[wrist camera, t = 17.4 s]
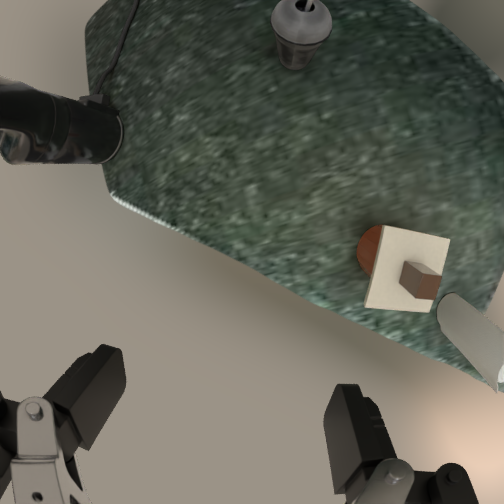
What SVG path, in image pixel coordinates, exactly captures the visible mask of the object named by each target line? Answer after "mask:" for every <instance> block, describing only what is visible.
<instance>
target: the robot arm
mask: <svg viewBox="0 0 504 504" xmlns="http://www.w3.org/2000/svg"><path fill="white" fill-rule="evenodd" d="M138 2H139V0H134V3H133V6H132V9H131V12H130V14H129V16H128V19H127V21H126V23H125V26H124V28H123V31H122V34H121V36H120V40H119V43H118V46H117V49H116V52H115V55H114V58H113V60H112V62H111V64H110V66H109V68H108V69H107V70H106V71H105V72H104V73H103V74H102V75H101V77H100V79H99V81H98V83H97V86H96V88H95V91H94V93H93V95H89V96H82V97H80V99H79V100H78V101H76V100H73V99H69V98H66V97H63V96H59V95H55V94H52V93H48V92H45V91H41V90H38V89H35V88H34V87H31V86H29V85H27V84H25V83H23V82H20V81H16V80H13V79H9V78H6V77H3V76H0V153H1V155H2V157H3V159H4V160H5V161H6V162H7V163H9V164H12V165H30V164H62V163H63V164H69V163H70V164H72V163H73V164H74V163H75V164H76V163H78V164H103V163H105V162H107V161H109V160H110V159H112V158H113V157H114V156H115V155H116V153H117V152H118V150H119V149H120V146H121V144H122V141H123V136H124V128H123V123H122V121H121V119H120V117H119V110H117V109H114V108H111V107H109V101H110V96H108V95H105V94H99V92H100V89H101V87H102V84H103V82H104V80H105V78H106V76H107V75H108V74H109V73H110V72H111V71H112V70H113V69H114V67H115V65H116V62H117V60H118V58H119V55H120V52H121V49H122V46H123V42H124V39H125V36H126V33H127V31H128V28H129V25H130V23H131V21H132V18H133V16H134V14H135V11H136V9H137V6H138ZM125 387H126V375H125V368H124V362H123V355H122V351H121V350H120V349H119V348H115V347H112V346H109V345H105V344H101V345H100V346H99V347H98V348H97V349H96V350H95V351H94V352H93V354H92V353H87V354H85V355H83V356H81V357H79V358H78V359H77V360H76V361H75V362H74V363H73V364H72V365H71V367H69V369H68V370H66V372H65V374H63V375H62V376H61V377H60V378H59V379H58V380H57V382H56V383H55V384H54V385H53V386H52V387H51V388H50V390H49V391H48V392H47V393H46V394H45V395H44V396H43V397H42V398H41V397H30V398H27V399H25V400H23V401H22V402H21V403H20V402H15V401H11V400H8V399H5V398H4V397H3V396H2V393H1V391H0V499H1V497H2V495H3V494H4V492H5V490H6V488H7V486H8V484H9V483H10V481H11V479H12V486H13V493H14V500H15V504H92V503H91V502H90V499H89V497H88V495H87V492H86V489H85V486H84V482H83V479H82V475H81V472H80V468H79V464H78V460H77V456H76V453H75V451H76V450H77V448H78V446H79V447H81V448H83V449H85V450H88V451H89V450H90V448H91V446H92V444H93V443H94V441H95V439H96V437H97V436H98V434H99V432H100V431H101V429H102V428H103V426H104V424H105V422H106V421H107V419H108V417H109V416H110V414H111V412H112V411H113V409H114V408H115V406H116V404H117V403H118V401H119V399H120V398H121V396H122V394H123V393H124V390H125ZM381 417H382V416H381V414H380V411H379V408H378V406H377V405H376V404H375V403H374V402H373V401H372V400H371V399H370V398H369V397H363V395H362V392H361V390H360V387H359V385H358V384H337V385H336V387H335V390H334V392H333V394H332V397H331V399H330V402H329V404H328V406H327V409H326V411H325V415H324V431H325V436H326V442H327V448H328V454H329V460H330V467H331V473H332V480H333V486H334V493H335V494H345V495H346V501H345V502H344V503H343V504H479V503H478V500H477V497H476V494H475V492H474V489H473V486H472V484H471V481H470V479H469V476H468V474H467V472H466V470H465V469H464V468H463V467H462V466H460V465H458V464H456V463H447V464H444V465H442V466H441V467H440V468H439V469H438V470H437V471H436V472H425V471H414V470H413V469H412V467H411V466H410V465H409V464H408V463H407V462H405V461H403V460H401V459H398V458H397V456H396V453H395V450H394V448H393V445H392V442H391V440H390V437H389V434H388V432H387V429H386V427H385V424H384V421H383V419H382V418H381Z"/></svg>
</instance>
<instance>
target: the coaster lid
mask: <svg viewBox="0 0 504 504" xmlns="http://www.w3.org/2000/svg"><path fill="white" fill-rule="evenodd" d="M449 243H450V239H448V238H445V237H440V236H436V235H431V234H427V233H422V232H418V231H413V230H408V229H403V228H398V227H393V226H388V225H383V226H382V231H381V235H380V240H379V245H378V249H377V254H376V258H375V262H374V267H373V271H372V275H371V278H370V282H369V286H368V290H367V293H366V297H365V301H364V304H363V305H364V307H366V308H377V309H389V310H401V311H414V312H429V311H430V308H431V305H432V303H433V300H435V298H436V295H437V292H438V289H439V285H440V282H441V279H442V276H441V274H442V270H443V266H444V263H445V259H446V255H447V251H448V247H449Z"/></svg>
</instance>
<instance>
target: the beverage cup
mask: <svg viewBox="0 0 504 504" xmlns="http://www.w3.org/2000/svg"><path fill="white" fill-rule="evenodd" d="M270 24H271V27H272V30H273V31H274V33H275V36H276V42H277V49H278V55H279V59H280V62H281V63H282V65H283V66H285V67H286V68H288V69H291V70H300V69H302V68H304V67H305V66H306V65H307V64H308V63H309V62H310V60H311V58H312V57H313V55H314V54H315V52H316V51H317V49H318V47H319V46H320V44H321V43H323V42H324V41H325V40H326V39H327V38H329V36H330V34H331V32H332V18H331V15H330V13H329V11H328V9H327V8H326V7H325V5H324V4H323V3H322V2H320V1H319V0H282V1H281V2H279V3H278V4H277V5H276V7H275V9H274V10H273V13H272V15H271V19H270Z"/></svg>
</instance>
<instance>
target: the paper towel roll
mask: <svg viewBox="0 0 504 504" xmlns="http://www.w3.org/2000/svg"><path fill="white" fill-rule="evenodd" d="M437 320H438V322H439V324H440V326H441V331H442V332H443V333H444V334H445V335H446V336H447V338H448V339H449V340H450V341H451V342H452V343H453V344H454V345H455V346H456V347H457V348H458V349H459V350H460V352H461V353H462V354H463V355H464V356H465V357H466V358H467V359H468V360H469V362H470V363H471V364H472V365H473V366H474V367H475V368H476V370H477V371H478V372H479V373H480V374H481V375H482V377H483V378H484V379H485V380H486V381H487V382H488V384H489V385H490V386H491V387H492V388H493V390H494V391H495V392H496V393H497V392H498V385H497V381H498V382H500V383H502V382H504V331H503V330H501V329H500V328H499V327H498V326H497V325H495V324H494V323H493V322H492V321H490V320H489V319H488V318H487V317H485V316H484V315H483V314H482V313H480V312H479V311H478V310H477V309H475V308H474V307H473V306H471V305H470V304H469V303H468V302H466V301H465V300H464V299H462V298H461V297H460V296H458V295H457V294H456V293H450V294H447V295H446V296H445V297H443V298H442V300H441V301H440V303H439V304H438V307H437Z"/></svg>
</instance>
